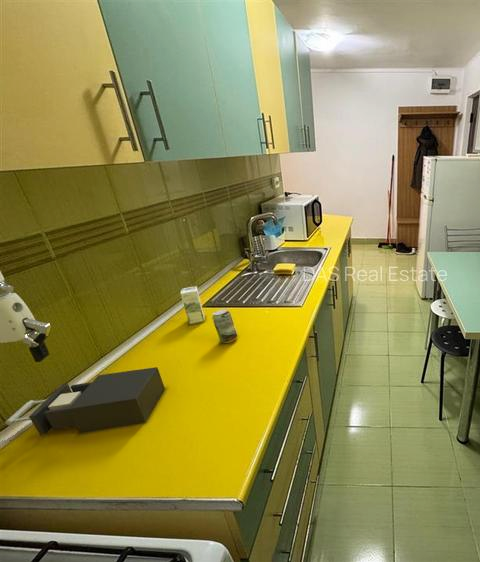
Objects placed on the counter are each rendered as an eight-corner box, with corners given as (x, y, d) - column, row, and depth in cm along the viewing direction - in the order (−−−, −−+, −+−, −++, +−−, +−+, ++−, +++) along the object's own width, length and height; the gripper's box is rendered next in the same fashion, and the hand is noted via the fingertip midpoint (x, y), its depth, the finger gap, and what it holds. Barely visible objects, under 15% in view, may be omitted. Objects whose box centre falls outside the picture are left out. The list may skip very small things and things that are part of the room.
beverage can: (229, 346, 110) (222, 317, 105) (213, 342, 112) (206, 314, 108) (242, 337, 115) (236, 309, 111) (226, 333, 118) (220, 306, 113)
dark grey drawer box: (79, 433, 76) (66, 409, 73) (108, 397, 87) (98, 375, 84) (145, 422, 79) (135, 398, 75) (165, 389, 90) (157, 366, 87)
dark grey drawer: (4, 441, 73) (-9, 422, 70) (40, 406, 83) (30, 388, 81) (103, 425, 77) (94, 406, 74) (127, 393, 87) (119, 376, 85)
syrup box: (204, 315, 131) (196, 285, 126) (204, 322, 127) (196, 290, 121) (189, 319, 129) (180, 288, 123) (189, 325, 124) (180, 293, 119)
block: (55, 420, 77) (47, 406, 75) (67, 407, 81) (60, 394, 79) (76, 417, 78) (68, 403, 76) (87, 404, 82) (80, 391, 80)
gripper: (45, 282, 68) (73, 347, 74) (-54, 289, 64) (-16, 356, 70) (17, 296, 61) (50, 366, 67) (-96, 304, 57) (-49, 377, 63)
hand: (17, 361), depth 69 cm, fingers open, 9 cm apart
